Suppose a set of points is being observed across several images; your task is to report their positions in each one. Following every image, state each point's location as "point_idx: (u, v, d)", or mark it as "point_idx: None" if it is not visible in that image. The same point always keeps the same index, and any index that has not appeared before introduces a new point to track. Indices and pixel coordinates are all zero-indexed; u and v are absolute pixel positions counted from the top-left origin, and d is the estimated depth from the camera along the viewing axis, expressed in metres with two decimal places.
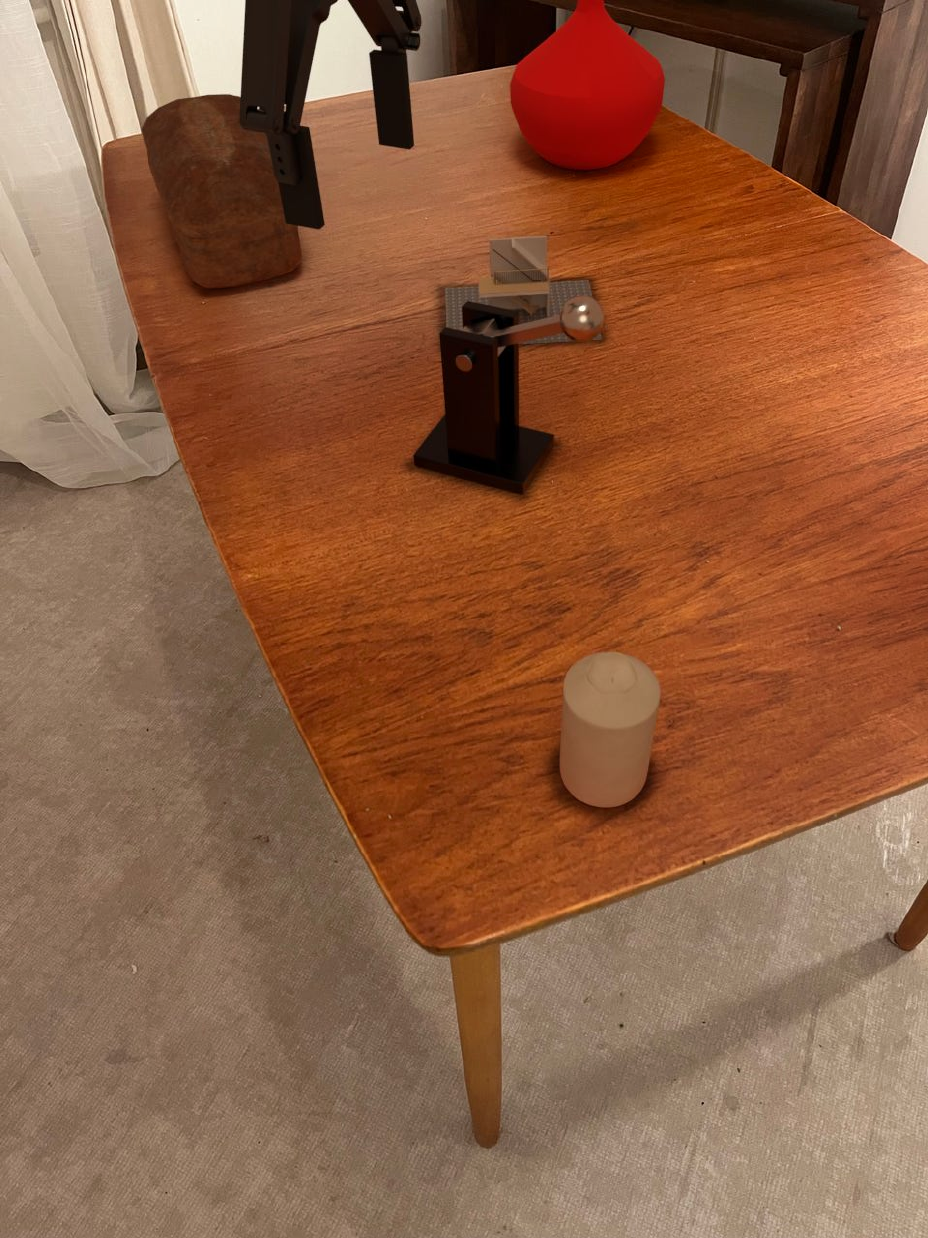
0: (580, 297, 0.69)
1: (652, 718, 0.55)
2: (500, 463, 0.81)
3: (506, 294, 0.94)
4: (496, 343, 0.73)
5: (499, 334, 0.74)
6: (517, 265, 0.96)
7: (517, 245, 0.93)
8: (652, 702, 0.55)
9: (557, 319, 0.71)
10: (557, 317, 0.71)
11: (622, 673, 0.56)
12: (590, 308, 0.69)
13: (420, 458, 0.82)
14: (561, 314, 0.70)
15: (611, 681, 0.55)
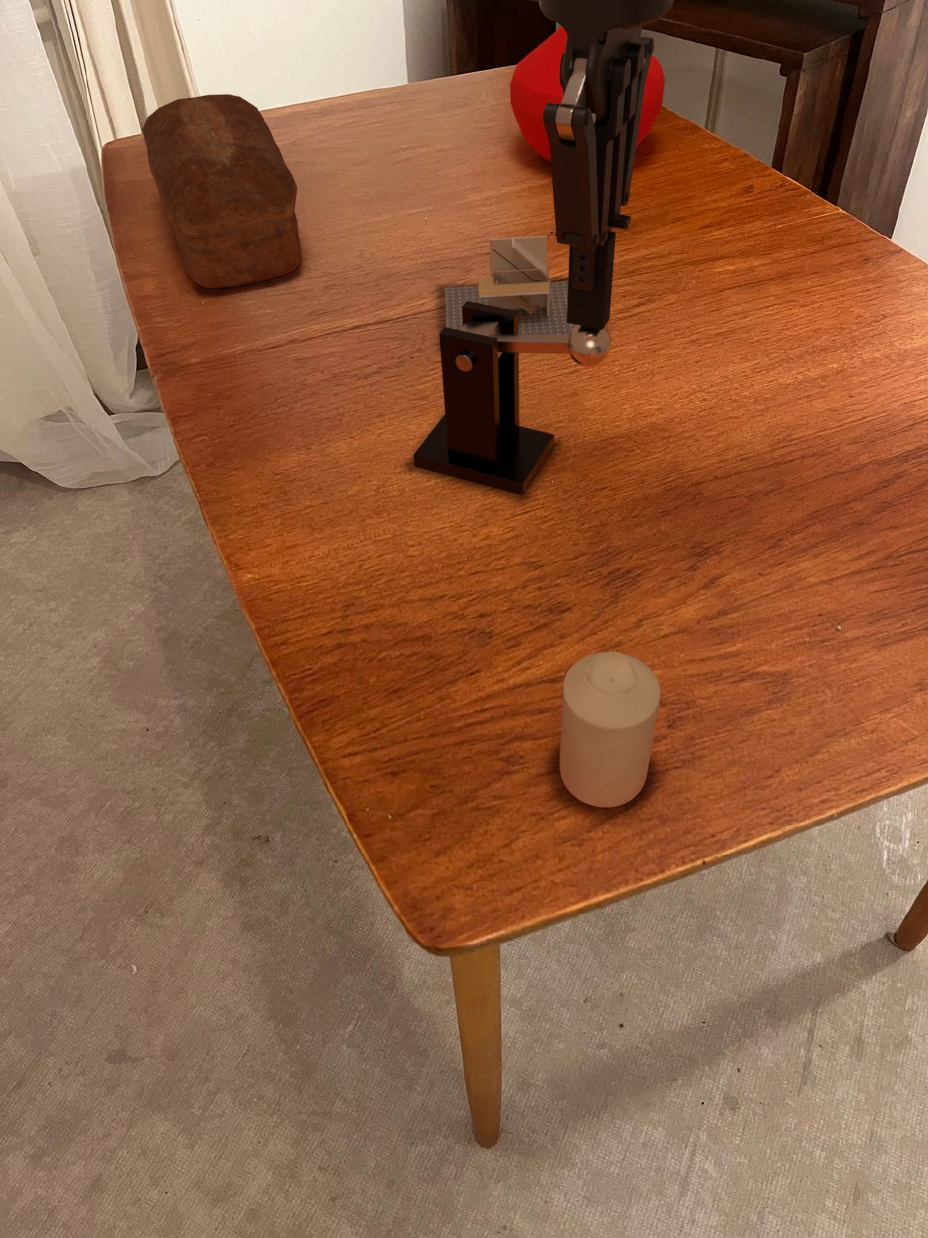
0: None
1: (652, 718, 0.55)
2: (500, 463, 0.81)
3: (506, 294, 0.94)
4: (496, 343, 0.73)
5: (502, 340, 0.74)
6: (517, 265, 0.96)
7: (517, 245, 0.93)
8: (652, 702, 0.55)
9: (564, 339, 0.72)
10: (564, 337, 0.72)
11: (622, 673, 0.56)
12: (601, 337, 0.70)
13: (420, 458, 0.82)
14: (571, 337, 0.71)
15: (611, 681, 0.55)
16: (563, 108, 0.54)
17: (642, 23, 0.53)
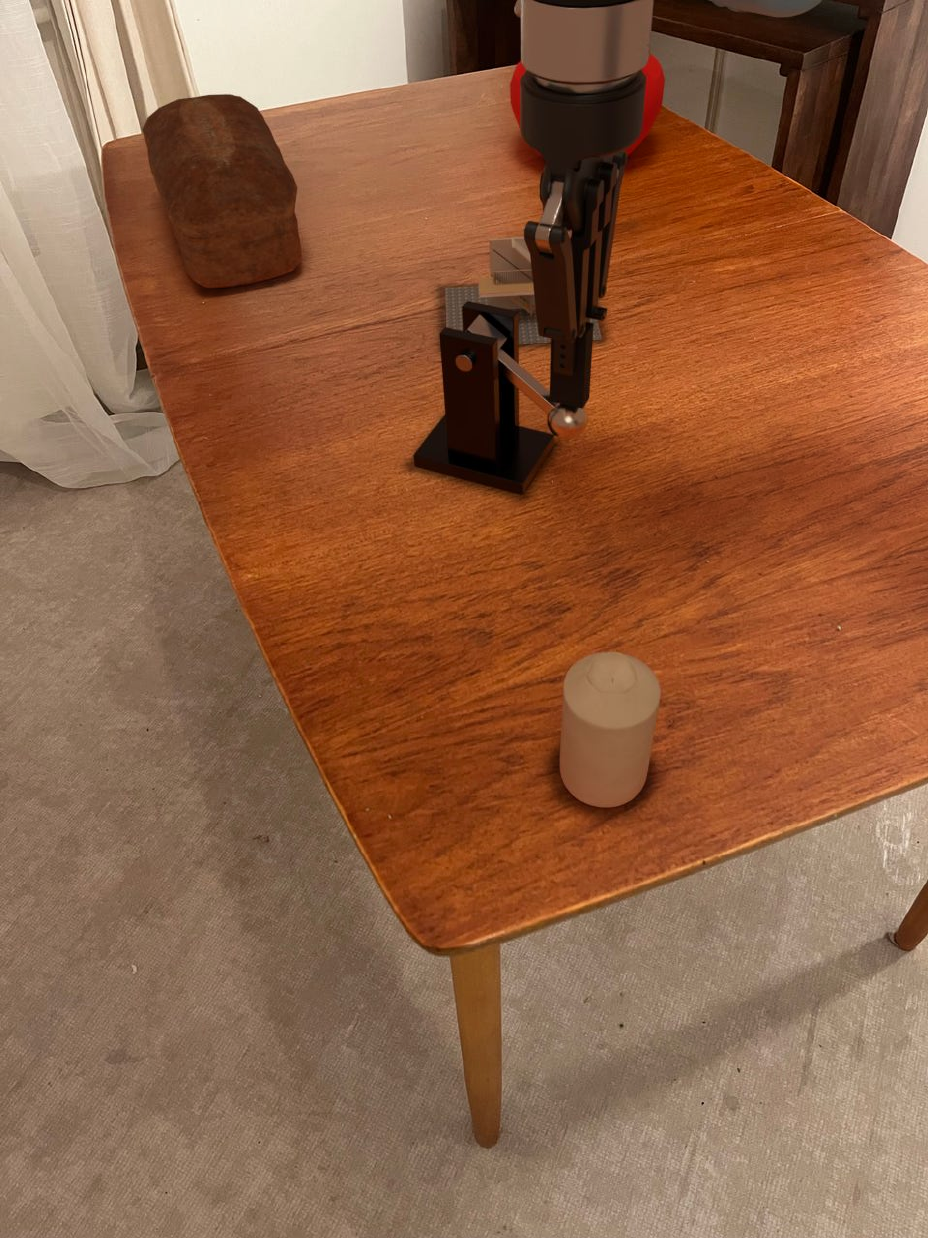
0: (583, 411, 0.76)
1: (652, 718, 0.55)
2: (500, 463, 0.81)
3: (506, 294, 0.94)
4: (496, 343, 0.73)
5: (503, 361, 0.75)
6: (517, 265, 0.96)
7: (517, 245, 0.93)
8: (652, 702, 0.55)
9: (553, 403, 0.76)
10: None
11: (622, 673, 0.56)
12: (582, 427, 0.76)
13: (420, 458, 0.82)
14: (562, 410, 0.76)
15: (611, 681, 0.55)
16: (542, 227, 0.60)
17: (612, 153, 0.59)
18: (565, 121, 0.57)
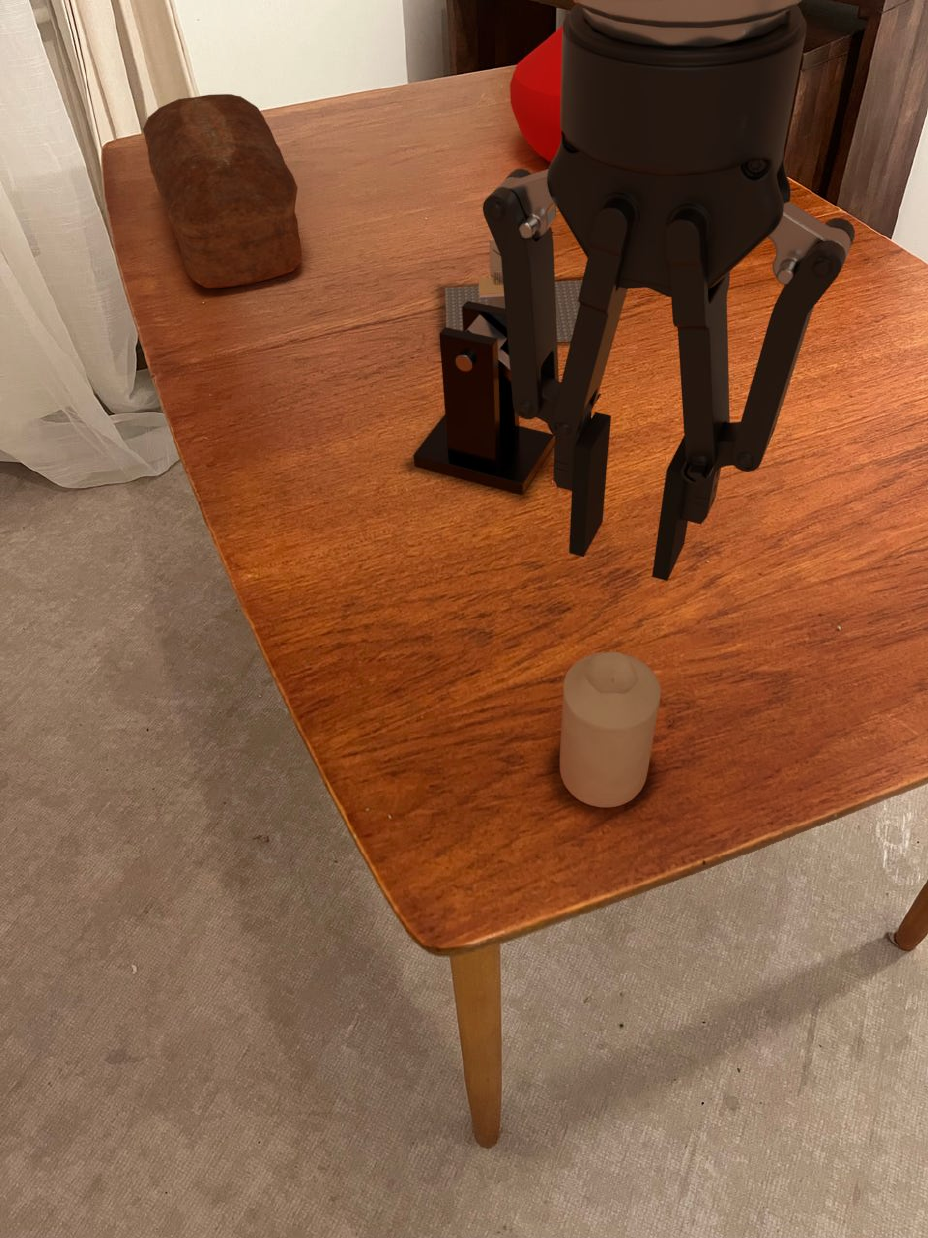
0: None
1: (652, 718, 0.55)
2: (500, 463, 0.81)
3: None
4: (496, 343, 0.73)
5: (503, 361, 0.75)
6: None
7: None
8: (652, 702, 0.55)
9: None
10: None
11: (622, 673, 0.56)
12: None
13: (420, 458, 0.82)
14: None
15: (611, 681, 0.55)
16: (507, 181, 0.37)
17: (579, 149, 0.32)
18: None
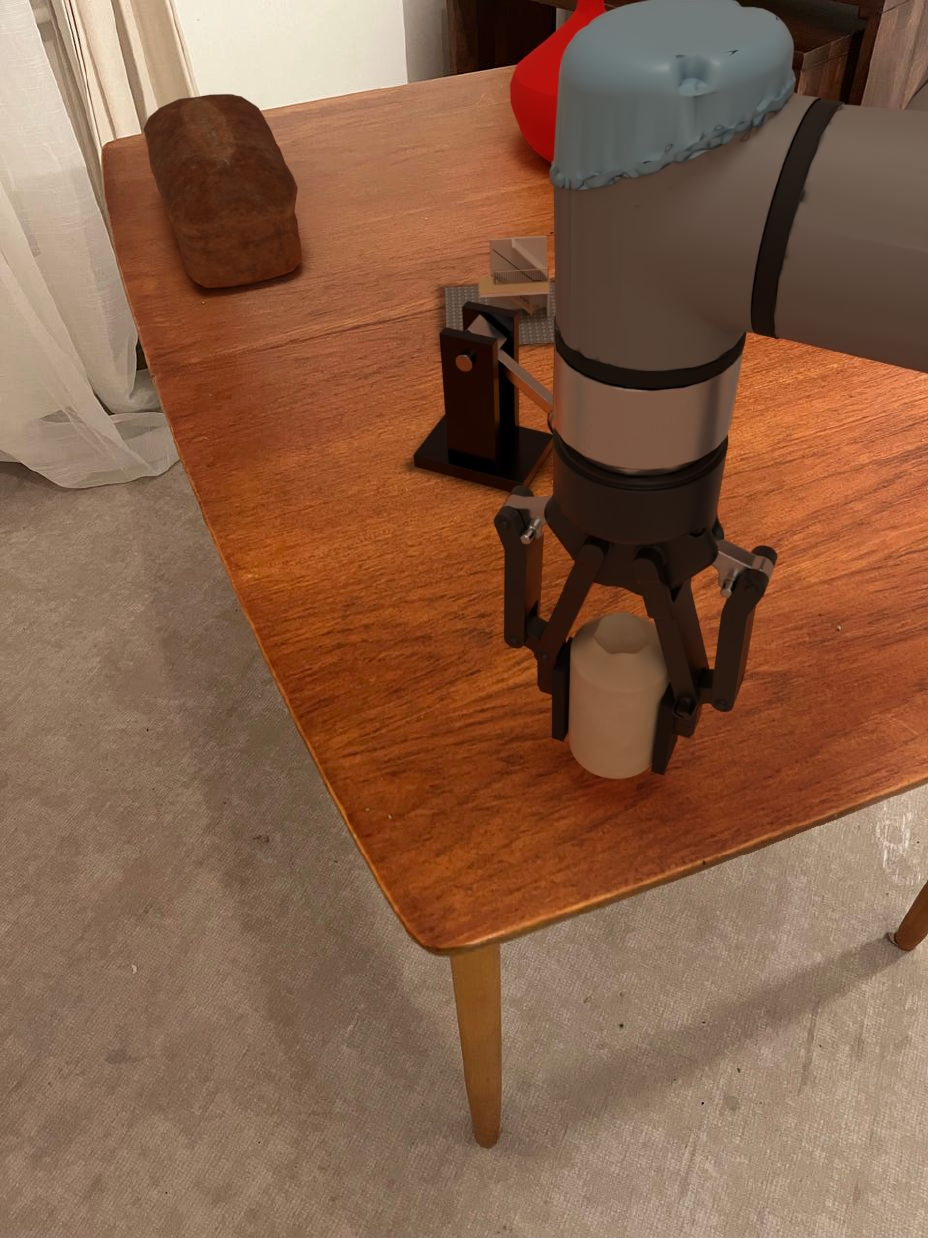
0: None
1: (665, 680, 0.52)
2: (500, 463, 0.81)
3: (506, 294, 0.94)
4: (496, 343, 0.73)
5: (503, 361, 0.75)
6: (517, 265, 0.96)
7: (517, 245, 0.93)
8: (664, 663, 0.52)
9: None
10: None
11: (632, 634, 0.53)
12: None
13: (420, 458, 0.82)
14: None
15: (620, 642, 0.53)
16: (513, 498, 0.49)
17: (566, 517, 0.44)
18: None
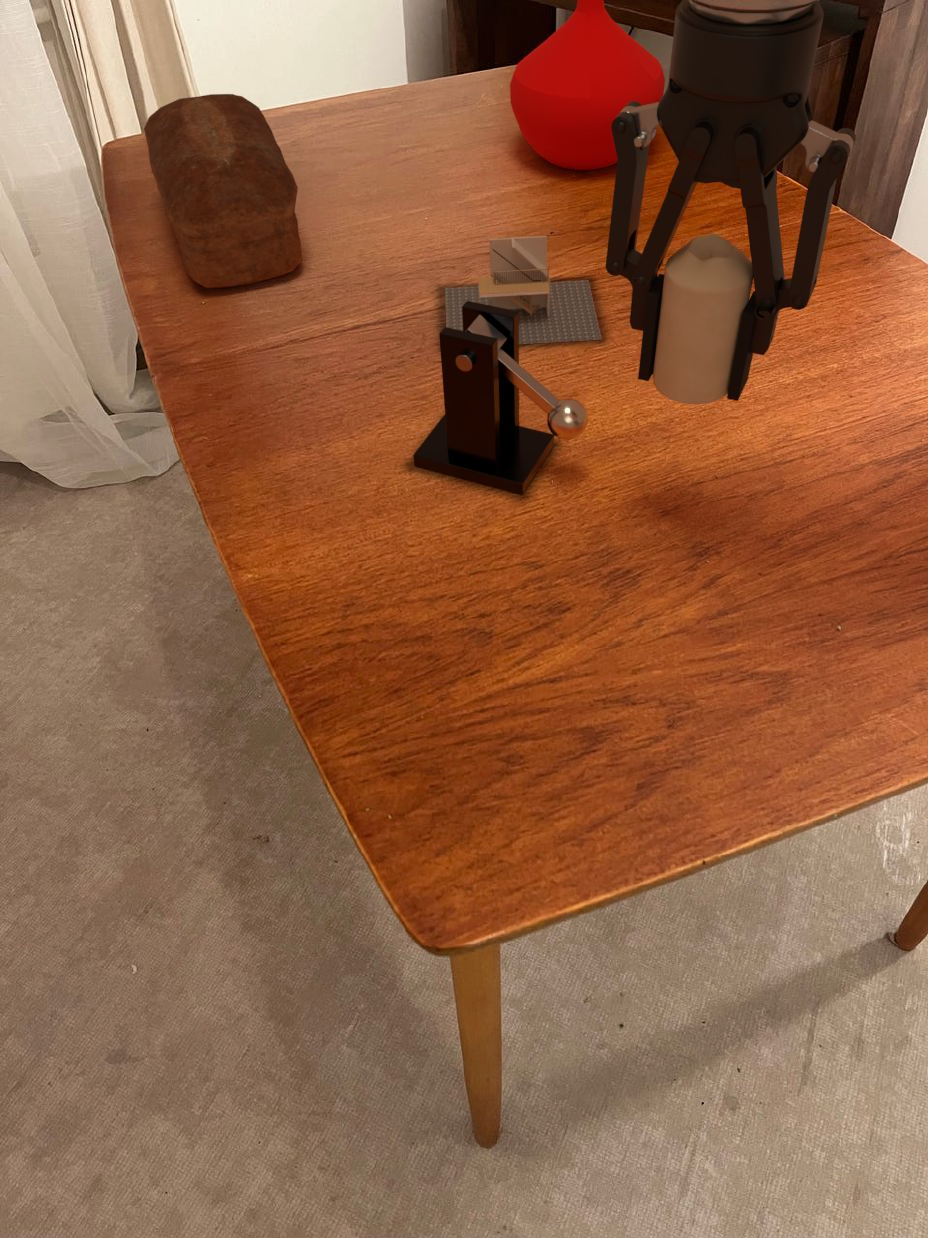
0: (583, 411, 0.76)
1: (747, 289, 0.61)
2: (500, 463, 0.81)
3: (506, 294, 0.94)
4: (496, 343, 0.73)
5: (503, 361, 0.75)
6: (517, 265, 0.96)
7: (517, 245, 0.93)
8: (748, 272, 0.61)
9: (553, 403, 0.76)
10: (553, 399, 0.76)
11: (719, 252, 0.62)
12: (582, 427, 0.76)
13: (420, 458, 0.82)
14: (562, 410, 0.76)
15: (709, 258, 0.61)
16: (627, 108, 0.57)
17: (684, 88, 0.52)
18: None
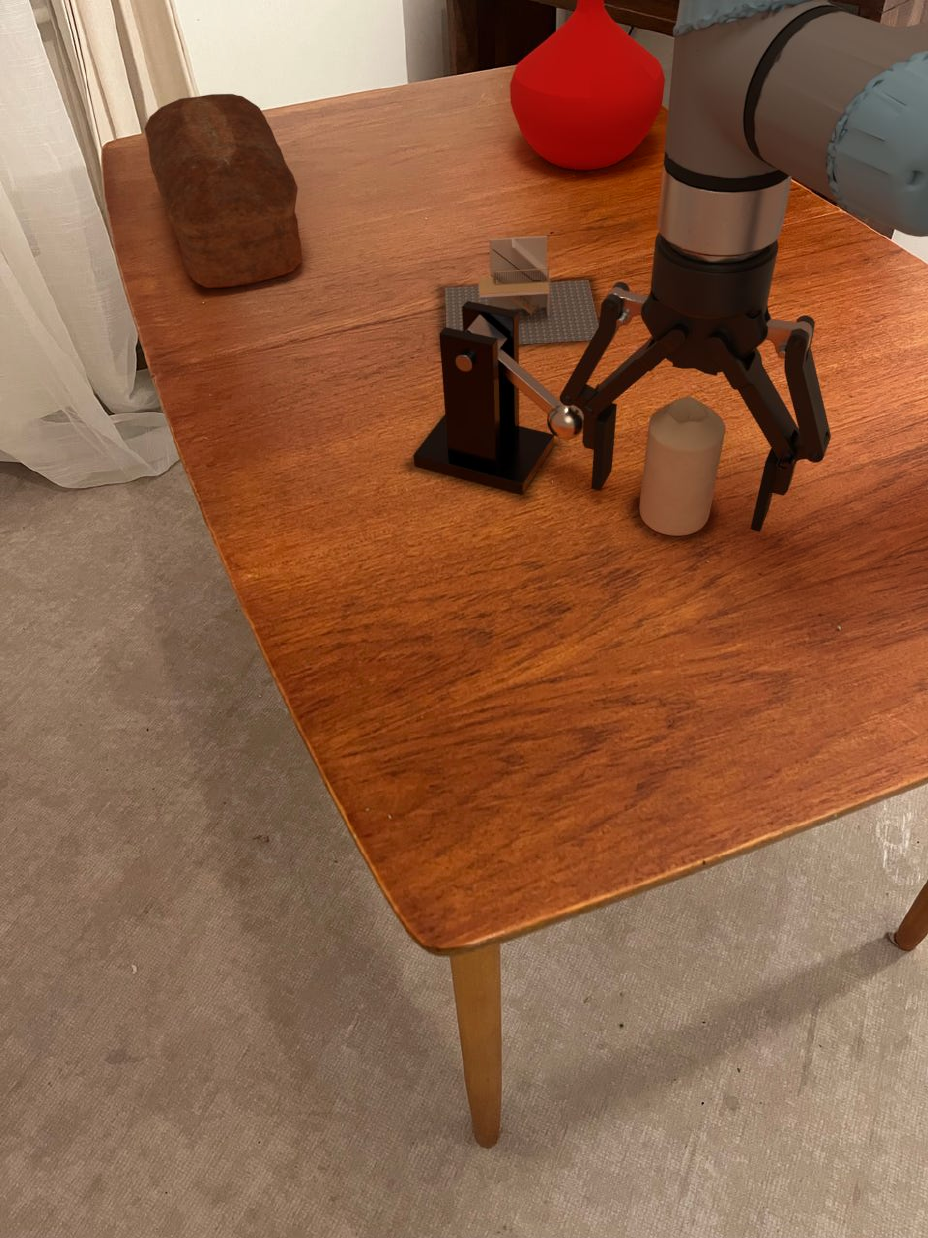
0: None
1: (719, 446, 0.71)
2: (500, 463, 0.81)
3: (506, 294, 0.94)
4: (496, 343, 0.73)
5: (503, 361, 0.75)
6: (517, 265, 0.96)
7: (517, 245, 0.93)
8: (719, 432, 0.70)
9: (553, 403, 0.76)
10: (553, 399, 0.76)
11: (695, 413, 0.71)
12: (582, 427, 0.76)
13: (420, 458, 0.82)
14: (562, 410, 0.76)
15: (687, 418, 0.71)
16: (618, 290, 0.66)
17: (662, 303, 0.62)
18: None
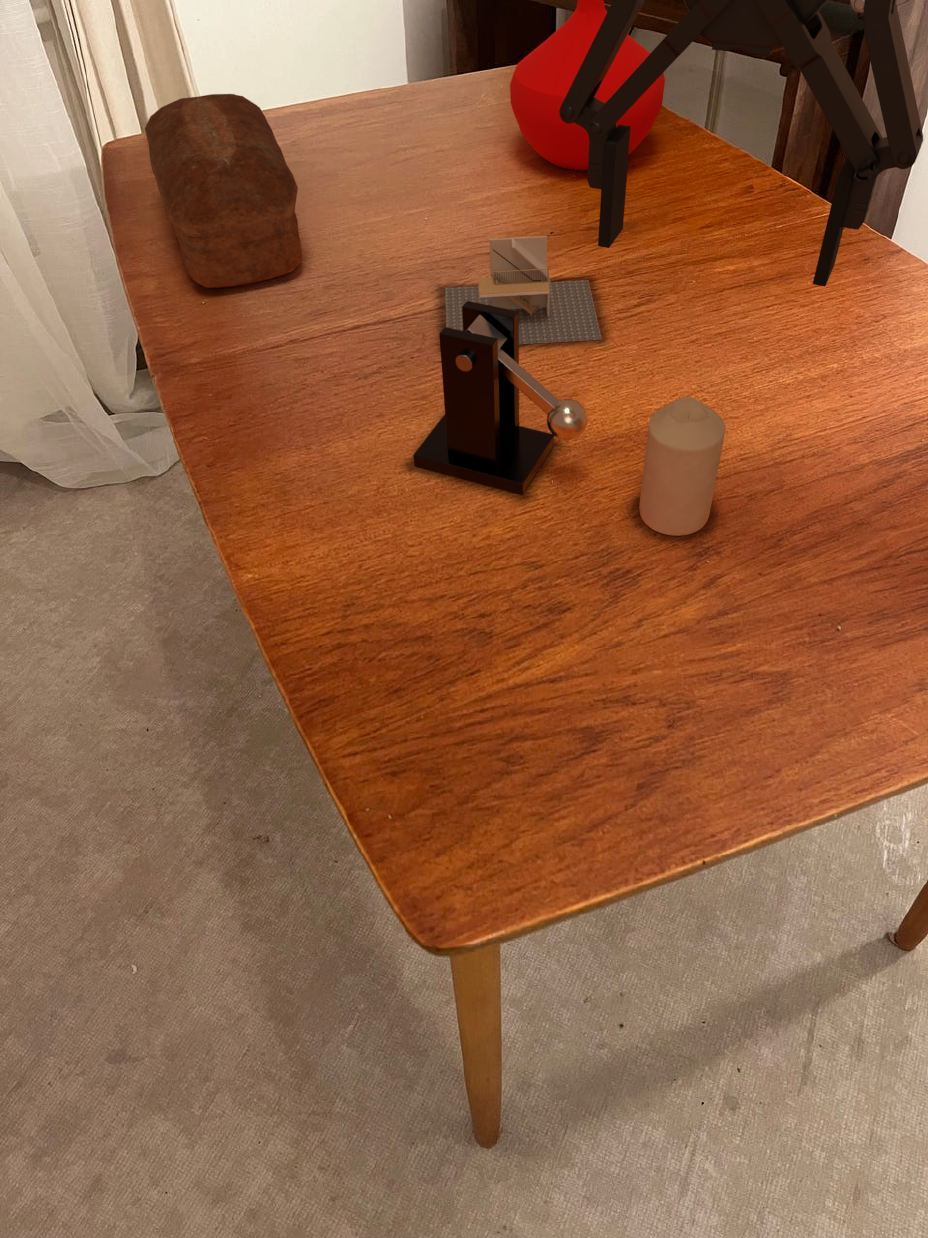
0: (583, 411, 0.76)
1: (719, 446, 0.71)
2: (500, 463, 0.81)
3: (506, 294, 0.94)
4: (496, 343, 0.73)
5: (503, 361, 0.75)
6: (517, 265, 0.96)
7: (517, 245, 0.93)
8: (719, 432, 0.70)
9: (553, 403, 0.76)
10: (553, 399, 0.77)
11: (695, 413, 0.71)
12: (582, 427, 0.76)
13: (420, 458, 0.82)
14: (561, 410, 0.76)
15: (687, 418, 0.71)
16: None
17: None
18: None
